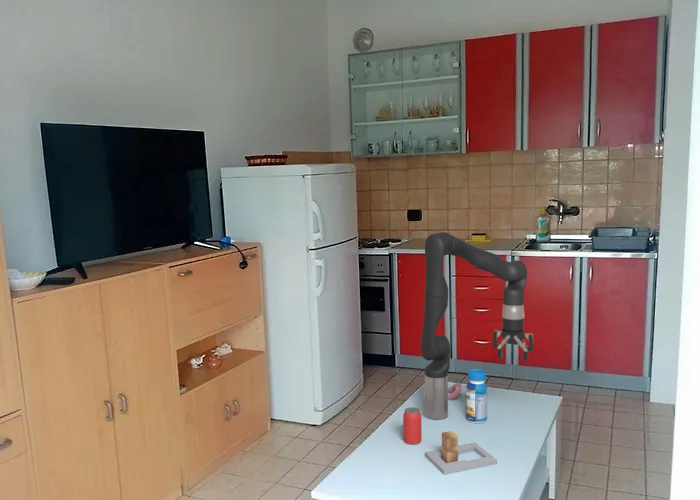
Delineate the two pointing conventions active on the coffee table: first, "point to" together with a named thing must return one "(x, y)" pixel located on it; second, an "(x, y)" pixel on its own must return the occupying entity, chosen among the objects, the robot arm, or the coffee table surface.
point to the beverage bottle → (476, 397)
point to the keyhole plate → (461, 465)
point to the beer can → (412, 425)
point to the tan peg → (449, 447)
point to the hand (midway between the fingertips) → (512, 359)
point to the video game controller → (454, 391)
